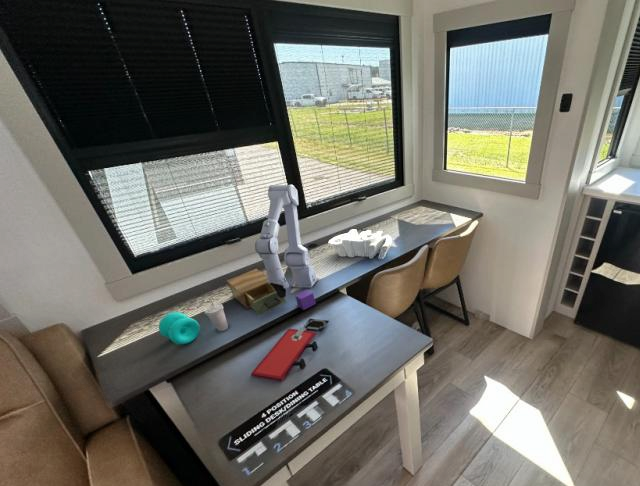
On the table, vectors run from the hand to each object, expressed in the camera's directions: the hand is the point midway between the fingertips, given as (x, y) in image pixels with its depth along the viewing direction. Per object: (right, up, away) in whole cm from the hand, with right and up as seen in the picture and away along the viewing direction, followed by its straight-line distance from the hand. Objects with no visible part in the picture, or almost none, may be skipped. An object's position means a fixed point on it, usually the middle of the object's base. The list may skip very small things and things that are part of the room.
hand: (282, 296), depth 129 cm
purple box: (+9, -3, +3) cm, 10 cm away
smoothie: (-21, -12, -7) cm, 25 cm away
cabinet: (-17, +1, +11) cm, 20 cm away
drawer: (-8, -3, +3) cm, 9 cm away
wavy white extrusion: (+29, +24, +41) cm, 55 cm away
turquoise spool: (-33, -16, -11) cm, 38 cm away
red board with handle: (+12, -18, -19) cm, 29 cm away
